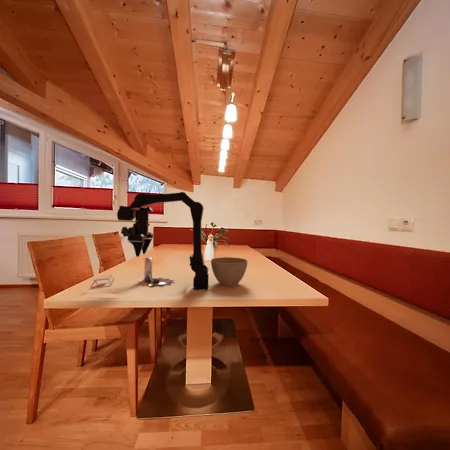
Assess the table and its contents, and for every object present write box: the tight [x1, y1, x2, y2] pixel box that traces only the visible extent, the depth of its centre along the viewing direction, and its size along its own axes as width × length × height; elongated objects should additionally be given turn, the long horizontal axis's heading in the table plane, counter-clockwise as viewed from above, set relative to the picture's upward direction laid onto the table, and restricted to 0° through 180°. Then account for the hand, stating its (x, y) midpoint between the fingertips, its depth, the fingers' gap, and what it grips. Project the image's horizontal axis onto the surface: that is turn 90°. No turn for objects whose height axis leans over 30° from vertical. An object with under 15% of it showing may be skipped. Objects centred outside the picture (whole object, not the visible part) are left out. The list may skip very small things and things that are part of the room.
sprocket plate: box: [137, 277, 176, 289], centre depth 114 cm, size 17×17×3 cm
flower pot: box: [210, 256, 248, 287], centre depth 119 cm, size 18×18×12 cm
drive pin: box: [143, 256, 153, 282], centre depth 116 cm, size 4×4×11 cm
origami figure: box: [90, 274, 116, 288], centre depth 108 cm, size 12×8×5 cm
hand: (140, 255), depth 111 cm, fingers open, 9 cm apart
